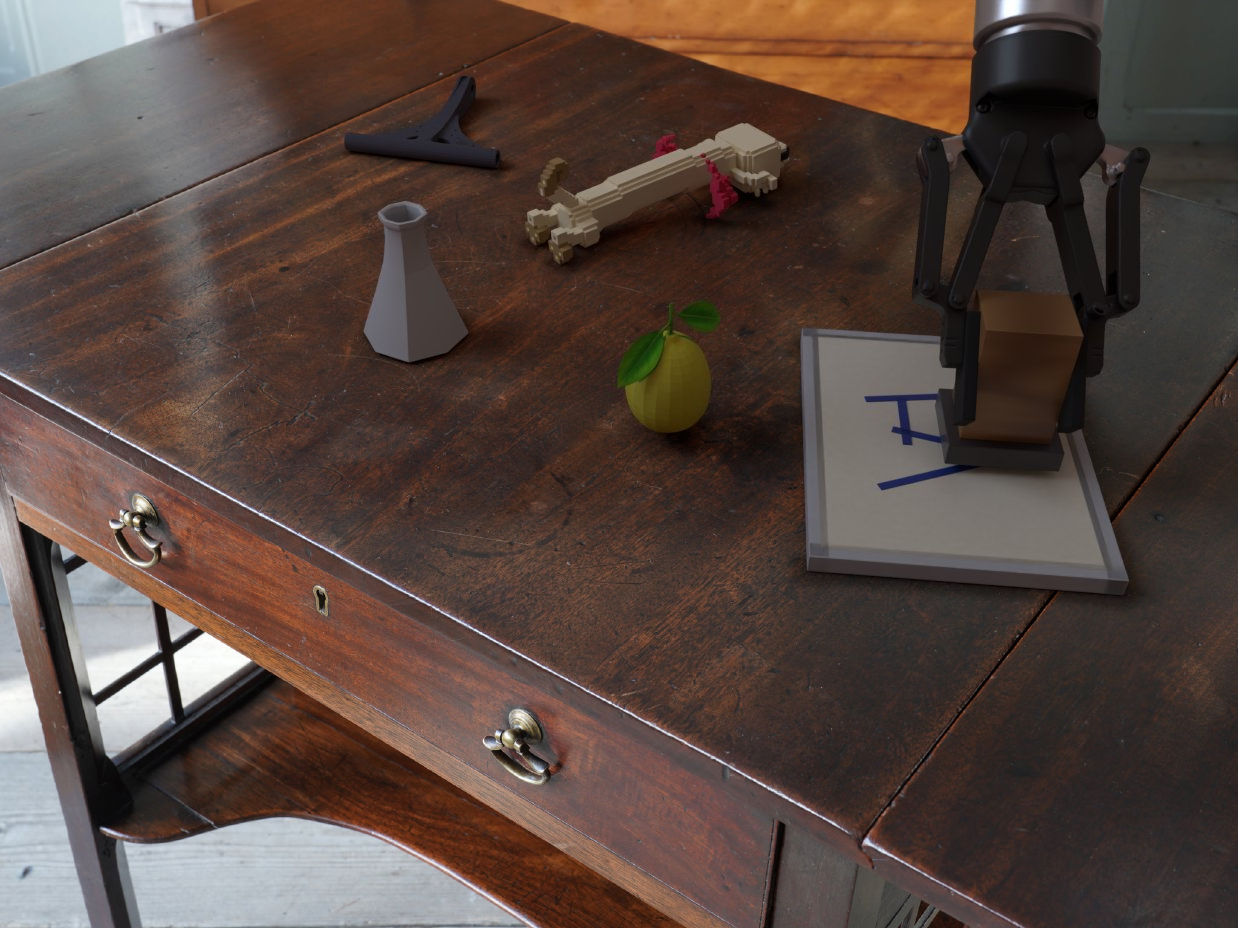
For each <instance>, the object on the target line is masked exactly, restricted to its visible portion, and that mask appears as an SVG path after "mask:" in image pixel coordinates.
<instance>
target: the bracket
mask: <svg viewBox="0 0 1238 928" xmlns="http://www.w3.org/2000/svg"><path fill="white" fill-rule="evenodd" d="M476 83H477V82H476V79H475V78H474V76H469V75H460V74H459V75H458V77H457V79H456V82H455V84H454V86H453V88H452V90H451V92H450V94H449V97H448V98H447V100H446V102H445V104H444V105H443V107H442V109H441V111H440V112H438V113H436V114H434V115H433V116H432V117H430V118H429V119H426V120H425V121H422V122H421V123H419V124H417V125H416V124H415V125H413V126H410V127H406V128H403V129H399V130H395V131H390V132H384V133H378V134H368V133H362V132H361V133H360V132H351V131H347V132H346V133H345V135H344V140H343V145H344V149H345V150H346V151H351V152H358V153H367V154H375V155H383V156H391V157H392V156H393V157H398V158H399V157H400V158H407V159H416V160H425V161H433V162H440V163H448V164H449V163H450V164H457V165H458V164H459V165H465V166H474V167H483V168H491V169H498V168H499V166H500V164H501V151H500V150H499V149H495V148H488V147H483V146H481V145H479V144H477V143H476V142H474V141H473V140H471V139H470V138H469V137H468V136H466V135H465V133H463V132H462V129H461V127H460V124H459V123H460V120H461V119H462V118H463V116H465V114H466V113H467V111H469V109H470V108H471V106H472V105H473V104H474V102H475V99H476V96H477V95H476V93H477V84H476Z"/></svg>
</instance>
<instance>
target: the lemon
mask: <svg viewBox="0 0 1238 928" xmlns="http://www.w3.org/2000/svg"><path fill="white" fill-rule="evenodd" d="M668 306H669V309H668V315H669V316H668V319H669V320H668V322H667V324H666V325H665V326H664V327H662V328H661V329H659V330H654V331H652V332H651V331H650V332H647V333H645V334H643V335H640V337H638V338H637V339H636V340H634V341H633V342H632V343H631V345H630V346H629V348H627V350H626V352H625V353H624V354H623V357H622V360H621V361H620V364H619V366H618V369H617V388H619V389H620V388H623V387H624V391H625V397H626V401H627V404H628V407H629V409H630V411H631V413H632V414H633V416H634V417H635V418H636V420H637V421H638V422H639V423H640V424H641V425H643V426H644V427H645V428H647V429H648V430H650V431H653V432H657V433H664V434H665V433H666V434H669V433H670V434H671V433H679V432H682V431H685V430H688V429H690V428H691V427H693V426H694V425H695V424H696V423H697V422H698V421H700V419H701V418H702V417H703V416H704V415H705V413H706V411H707V408H708V407H709V402H710V396H711V391H712V375H711V371H710V367H709V364H708V361H707V359H706V355H705V354H704V351H703V350H702V349H701V347H700V346H699V344H698V343H697V342H696V341H695V340H694V339H693V338H692V337H690V336H689V335H687V334H685V333H684V332H680V331H676V330H674V315H676V316H677V317H678V318H680V319H681V320H682V321H683V322H684V323H685V324H686V325H688V326H689V327H691V328H692V329H693V330H695V331H698V332H701V333H705V334H706V333H711V332H713V331H714V330H716V329H717V327H718V325H719V323H720V322H721V320H722V317H721V316H720V313H719V311H718V309H717V307H716V306H715V304H713V302H711V301H709V300H700V301H699V300H698V301H696V302H693V303H690V304H689V305H687V306H686V307H685V308H683V309H682V310H680V311H679V312H677V311H674V302H669V305H668ZM667 328H668V330H666V329H667Z"/></svg>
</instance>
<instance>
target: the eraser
mask: <svg viewBox="0 0 1238 928" xmlns="http://www.w3.org/2000/svg"><path fill="white" fill-rule="evenodd" d="M971 311H981V322H980V341H979V360H978V362H979V365H978V384H977V402H976V421H974V422H972V423H970V424H968V425H967V426H954V425H953V411H954V393H955V384H954V388H953V389H943V388H939V390H938V394H937V399H936V403H935V410H936V416H937V422H938V428H939V434H940V439H941V445H942V451H943V457H944V463H945V464H957V465H971V466H985V467H999V468H1013V469H1027V470H1041V471H1055V472H1059V470H1060V467H1061V464H1062V460H1063V457H1064V454H1065V453H1064V450H1063V446H1062V443H1061V439H1060V436H1059V433H1057V421H1058V418H1059V415H1060V411H1061V408H1062V405H1063V402H1064V398H1065V395H1066V392H1067V389H1068V385H1069V382H1070V379H1071V376H1072V372H1073V369H1074V366H1075V363H1076V360H1077V356H1078V353H1079V350H1080V347H1081V343H1082V340H1083V337H1084V336H1083V333H1082V330H1081V327H1080V324H1079V321H1078V318H1077V316H1076V313H1075V310H1074V307H1073V304H1072V301H1071V299H1070V296H1069V294H1064V293H1063V294H1062V293H1061V294H1060V293H1049V292H1047V293H1046V292H1032V291H1031V292H1030V291H1015V290H1014V291H1012V290H997V289H982V288H977V289H976V290H975V295H974V299H973V303H972V308H971Z"/></svg>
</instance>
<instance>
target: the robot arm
mask: <svg viewBox="0 0 1238 928" xmlns="http://www.w3.org/2000/svg"><path fill="white" fill-rule="evenodd" d="M1103 31H1104V0H975V3H974V19H973V32H972V33H973V34H972V46H973V47H972V48H973V50H974V51H975V52H976V53H975V54H974V55H973V56H972V59H971V64H970V82H969V83H970V86H969V99H968V100H969V103H968V118H967V122H966V125H965V126H964V128H963V130H962V131H961V132H960V134H958V135H954V136H949V137H945V138H940V137H939V136H938V135H928V136H927V137H925V139H923V141H922V144H921V145H920V147H919V149H918V150H917V152H916V155H915V164H916V169H917V171H918V176H919V179H920V182H921V186H922V187H921V188H922V189H921V198H920V207H919V219H918V226H917V227H918V229H917V237H916V248H915V256H914V268H913V277H912V285H911V286H912V288H911V300H912V301H913V303H914V304H916V305H917V306H920V307H921V306H926V307H928V308H930V309H932V310H934V311H936V312H937V313H938V316H939V317H940V322H941V323H940V335H939V336H940V354H939V360H940V363H941V366H942V368H954V369H956V375H955V393H954V411H953V425H954V426H967V425H968V424H970V423H972V422H974V421H976V402H977V384H978V365H979V362H978V360H979V341H980V322H981V311H972V310H968V305H969V303H970V301H971V299H972V295H973V293H974V290H975V287H976V284H977V281H978V278H979V276H980V273H981V270H982V267H983V265H984V262H985V259H986V256H987V253H988V250H989V248H990V245H991V242H992V239H993V236H994V233H995V232H996V228H997V225H998V222H999V219H1000V217H1001V215H1002V212H1003V209H1004V207H1005V204H1013V203H1018V202H1023V201H1024V202H1028V203H1031V204H1035V205H1040V206H1043V207H1044V210H1045V216H1046V218H1047V221H1049V222H1050V223H1051V227H1052V231H1053V234H1054V239H1055V243H1056V247H1057V250H1058V255H1059V259H1060V263H1061V267H1062V272H1063V275H1064V278H1065V283H1066V287H1067V291H1068V295H1069V296H1070V299H1071V301H1072V304H1073V307H1074V310H1075V313H1076V316H1077V318H1078V321H1079V324H1080V327H1081V330H1082V333H1083V336H1084V337H1083V340H1082V343H1081V347H1080V350H1079V353H1078V356H1077V360H1076V363H1075V366H1074V369H1073V372H1072V376H1071V379H1070V382H1069V385H1068V389H1067V392H1066V395H1065V398H1064V402H1063V405H1062V408H1061V411H1060V415H1059V418H1058V422H1057V433H1069V434H1070V433H1072V432H1075V431H1078V430H1080V429H1081V430H1082V429H1084V428H1085V416H1086V391H1087V378H1091V379H1092V378H1094V377H1096V376H1098V375H1100V374H1101V372H1102V370H1103V368H1104V360H1105V359H1104V356H1105V339H1106V324H1107V322H1108V321H1109V320H1112V319H1118V318H1121V317H1123V316H1125V315H1126V314H1128V313H1130V312H1131V311H1133V310H1134V309H1137V307H1138V306H1139V305H1140V303H1141V185H1142V182H1143V179H1144V177H1145V174H1146V172H1147V169H1148V166H1149V165H1150V162H1151V153H1150V151H1149V150H1148V149H1147V148H1145V147H1143V146H1138V147H1135V148H1133V149H1131V151H1130V150H1128V149H1125V148H1122V147H1120V146H1117V145H1113V144H1111V143H1108V142H1107V140H1106V139H1107V138H1106V136H1105V133H1104V131H1103V129H1102V128H1101V125H1100V122H1099V121H1100V120H1099V109H1100V92H1101V91H1100V90H1101V69H1102V51H1101V49H1100V48H1099V47H1098V46H1099V44H1100V43H1101V42H1102V39H1103V36H1104V35H1103V33H1104V32H1103ZM960 156H962V157H963V159H964V160H965V162H966V163H967V165H968V166H969V167H970V169H971V170H972V172H973V173H974V175H975V176H976V177H977V180H978V181H979V182H980V183H981V185H982V187H981V190H980V192H979V196H978V197H977V202H976V204H975V208H974V210H973V215H972V218H971V221H970V224H969V227H968V229H967V232H966V234H965V238H964V240H963V243H962V246H961V249H960V251H959V254H958V257H957V260H956V263H955V265H954V268H953V271H952V274H951V277H950V279H949V282H948V284H947V285H946V284H943V283H941V275H942V266H943V265H942V263H943V254H944V246H945V245H944V244H945V233H946V223H947V214H948V203H949V193H950V183H951V181H950V180H951V175H952V174H953V173H954V171H955V170H956V168H957V166H958V162H959V161H958V159H959V157H960ZM1095 163H1096V164H1097V165H1098V166H1100V168H1101V180H1102V182H1103V184H1104V185H1106V186H1108V188H1107V192H1106V197H1105V287H1104V282H1103V280H1102V275H1101V270H1100V268H1099V264H1098V258H1097V255H1096V251H1095V247H1094V244H1093V239H1092V236H1091V231H1090V227H1089V224H1088V219H1087V215H1086V213H1085V211H1086V210H1085V208H1084V204H1085V194H1084V190H1083V186H1082V181H1081V179H1082V178H1083V177H1084V176H1085V174H1087V172H1088V171H1089V170H1090V169H1091V167H1092V166H1093V165H1094V164H1095Z"/></svg>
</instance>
